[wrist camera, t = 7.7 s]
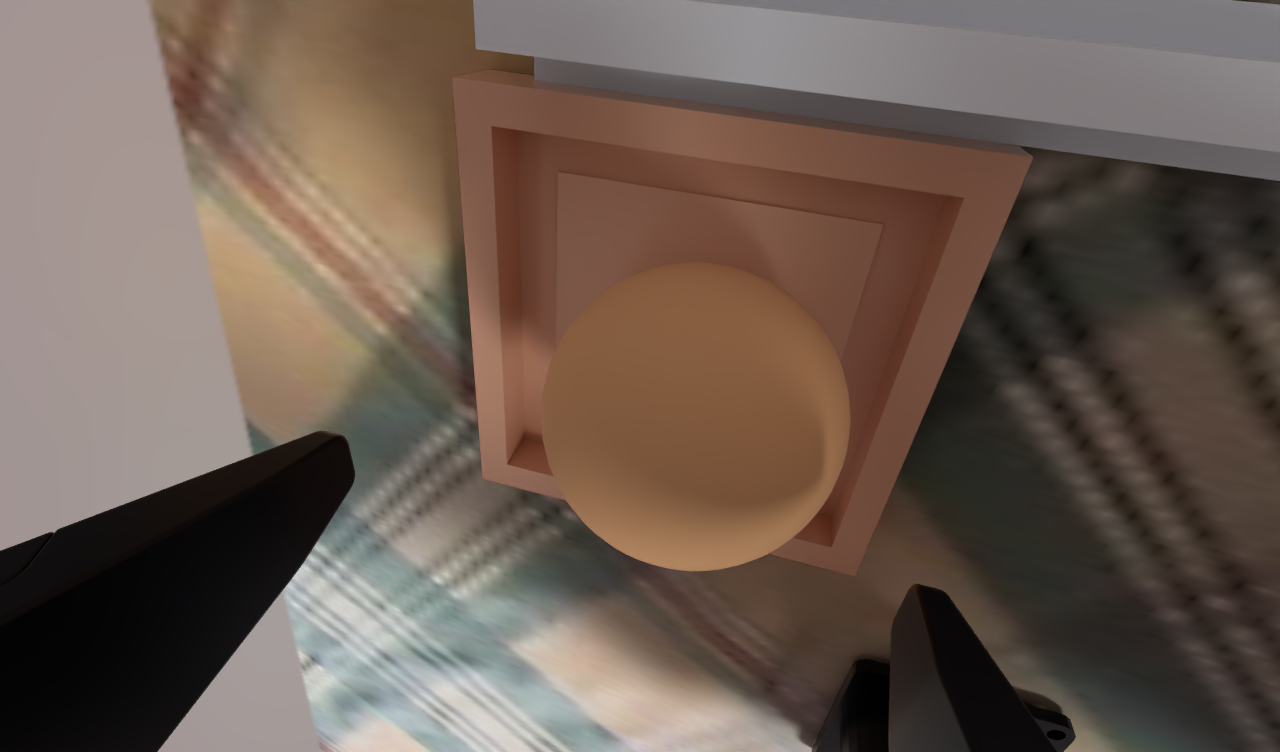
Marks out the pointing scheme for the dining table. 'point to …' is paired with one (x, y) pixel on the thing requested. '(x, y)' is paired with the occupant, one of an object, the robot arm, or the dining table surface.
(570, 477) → the ball
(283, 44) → the dining table surface
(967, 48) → the wall
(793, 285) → the dish
